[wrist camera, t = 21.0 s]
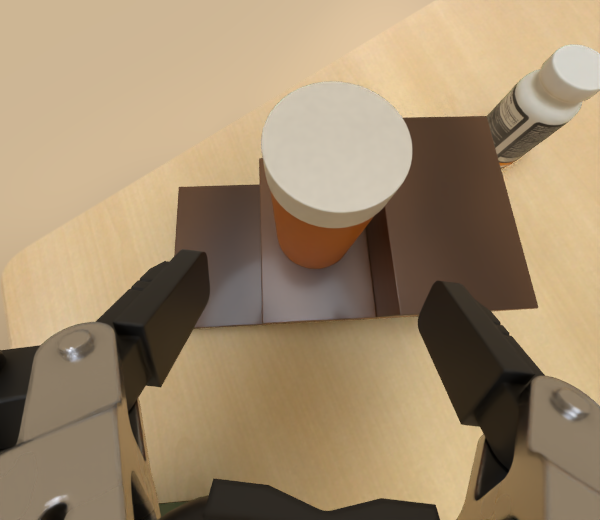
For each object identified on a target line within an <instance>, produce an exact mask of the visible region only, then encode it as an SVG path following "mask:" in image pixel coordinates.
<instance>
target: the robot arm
mask: <svg viewBox="0 0 600 520" xmlns="http://www.w3.org/2000/svg"><path fill="white" fill-rule="evenodd" d="M209 296H210V280H209V269H208V258H207V254H206V252H203V251H195V250H186V249H182V250H180V251H179V252H178V253H177V254H176V255H175V256H174V258H173V259H172V260H171V261H170V262H166V261H164V262H162V263H160V264H158V265H157V266H155V267H153V268H151V269H149V270H148V271H147V272H146V273H145V274H144V275H143V276H142V277H141V278H140V281H137V282H136V283H135V284H134V285H133V286H132V288H131V289H129V290H128V291H127V292H126V293H125V294H124V295H123V296H122V297H121V298H120V299H119V300H118V301H116V302H115V303H114V304H113V305H112V306H111V307H110V308H109V309H108V310H107V311H106V312H105V313H104V314H103V315H102V316H101V317H100V318H99V319H98V320H97V321H96V322H88V323H82V324H77V325H74V326H71V327H69V328H66V329H64V330H62V331H60V332H58V333H56V334H55V335H53V336H51V337H50V338H49V339H47V340H46V341H45V342H44V343H43V344H42V345H40V346H33V347H25V348H17V349H9V350H0V520H440V518H439V515H438V511H437V508H436V505H432V504H424V503H416V502H407V501H399V500H390V499H382V498H381V499H377V500H373V501H369V502H365V503H361V504H356V505H352V506H348V507H344V508H340V509H336V510H332V511H322V510H320V509H317V508H315V507H313V506H311V505H309V504H307V503H305V502H303V501H301V500H298V499H296V498H294V497H292V496H290V495H288V494H286V493H284V492H282V491H280V490H277V489H275V488H273V487H271V486H269V485H263V484H255V483H246V482H238V481H229V480H221V479H213V482H212V486H211V489H210V493H209V495H208V496H204V497H200V498H197V499H195V500H192V501H189V502H187V503H184V504H182V505H181V506H179V507H177V508H175V509H173V510H171V511H169V512H168V513H166V514H165V515H163V516H162V517H161V514H160V508H159V503H158V498H157V493H156V489H155V485H154V481H153V477H152V473H151V469H150V463H149V457H148V451H147V445H146V438H145V432H144V426H143V419H142V413H141V407H140V401H139V398H138V397H139V395H140V394H141V392H142V390H143V389H144V387H145V386H146V385H147V386H155V387H161V386H162V384H163V382H164V380H165V379H166V377H167V375H168V373H169V371H170V370H171V368H172V366H173V364H174V363H175V361H176V359H177V357H178V355H179V354H180V352H181V350H182V348H183V346H184V345H185V343H186V341H187V339H188V337H189V336H190V334H191V332H192V330H193V328H194V327H195V325H196V323H197V321H198V319H199V318H200V316H201V314H202V312H203V311H204V309H205V307H206V305H207V303H208V300H209ZM418 328H419V331H420V334H421V336H422V338H423V340H424V343H425V345H426V347H427V349H428V352H429V354H430V356H431V358H432V360H433V363H434V365H435V367H436V369H437V371H438V374H439V376H440V378H441V380H442V383H443V385H444V387H445V389H446V391H447V394H448V396H449V398H450V400H451V403H452V405H453V407H454V409H455V411H456V414H457V416H458V418H459V420H460V423H461V424H462V425H471V426H479V427H481V429H482V431H483V433H484V434H483V435H482V436H481V437H480V439H479V441H478V444H477V449H476V453H475V458H474V462H473V467H472V471H471V476H470V481H469V485H468V490H467V494H466V499H465V502H464V506H463V508H462V510H461V513H460V514H459V516H458V518H457V519H456V520H600V406H599V405H598V404H597V403H596V402H595V401H594V400H592V399H591V398H590V397H589V396H587V395H586V394H585V393H583V392H582V391H580V390H579V389H577V388H576V387H574V386H572V385H570V384H568V383H566V382H564V381H562V380H559V379H557V378H553V377H549V376H545V375H544V374H543V373H542V372H541V370H540V369H539V368H538V367H537V366H536V364H535V363H534V362H533V361H532V360H531V358H530V357H529V356H528V355H527V354H526V353H525V351H524V350H523V349H522V348H521V347H520V345H519V344H518V343H517V342H516V341H515V339H514V338H513V337H512V336H509V332H508V331H507V330H506V329H505V328H504V326H503V325H500V322H499V320H498V319H497V318H496V317H495V316H494V314H493V313H492V312H491V311H490V310H489V309H487V308H486V307H485V306H483V305H482V304H481V303H479V302H478V301H477V300H475V299H474V298H473V296H472V295H471V294H470V293H469V292H468V290H467V289H466V288H465V287H464V285H462V284H460V283H454V282H445V281H436V282H435V283H434V284H433V285H432V287H431V289H430V291H429V294H428V296H427V298H426V300H425V302H424V305H423V307H422V309H421V311H420V314H419V317H418Z"/></svg>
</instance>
